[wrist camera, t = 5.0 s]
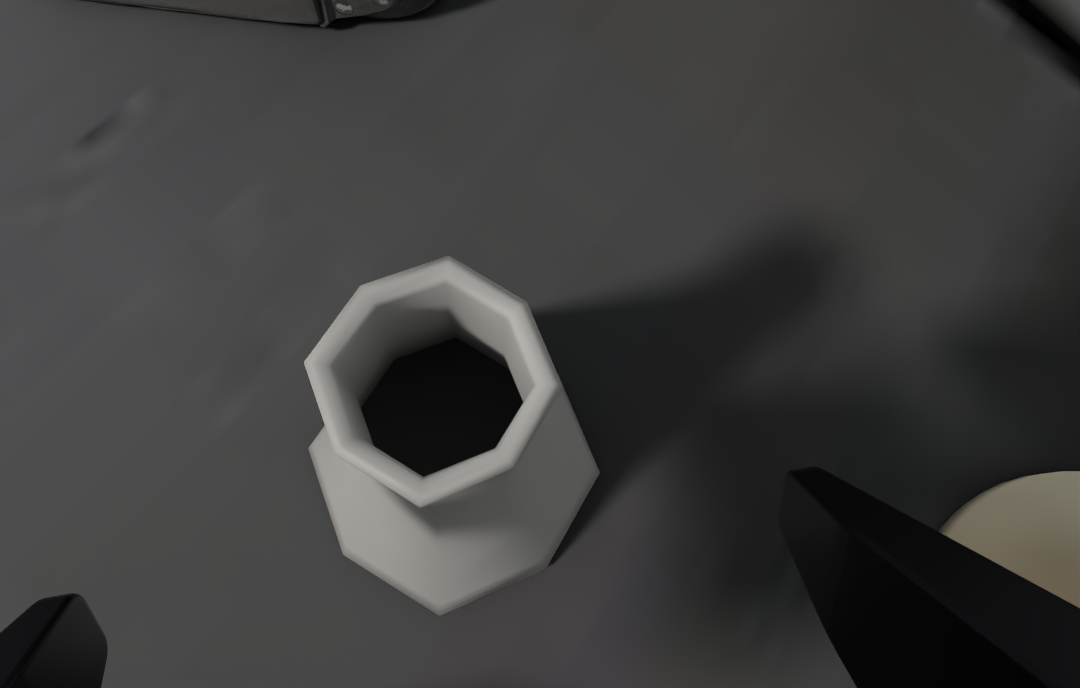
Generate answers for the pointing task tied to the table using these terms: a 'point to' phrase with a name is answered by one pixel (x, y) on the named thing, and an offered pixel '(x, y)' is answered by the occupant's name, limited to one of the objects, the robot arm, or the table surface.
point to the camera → (289, 8)
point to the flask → (445, 436)
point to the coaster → (1027, 529)
